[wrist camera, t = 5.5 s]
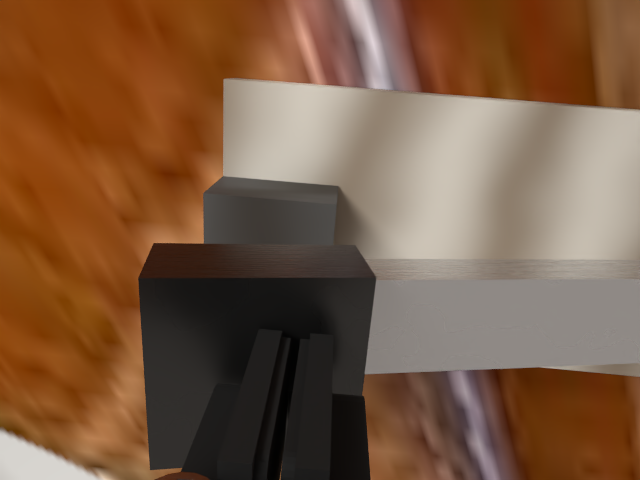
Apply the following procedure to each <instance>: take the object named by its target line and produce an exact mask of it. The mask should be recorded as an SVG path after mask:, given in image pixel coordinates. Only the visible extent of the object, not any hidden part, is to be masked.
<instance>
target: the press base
mask: <svg viewBox="0 0 640 480" xmlns="http://www.w3.org/2000/svg"><path fill="white" fill-rule="evenodd" d="M203 200H204V244H288V245H356V247H357V248H358V250H359V251H360V253H361V254H362V256H363V258H364V259H557V260H640V110H637V109H624V108H611V107H599V106H586V105H573V104H560V103H548V102H535V101H522V100H509V99H497V98H484V97H471V96H458V95H446V94H433V93H420V92H407V91H395V90H382V89H369V88H356V87H344V86H331V85H318V84H305V83H293V82H280V81H267V80H254V79H242V78H229V79H224V135H223V177H222V178H221V179H219V180H218V181H217V182H216V183H215V184H214V185H212V186H211V187H210V188H209V189H208V190H207V191H205V192H204V193H203ZM542 368H553V369H563V370H574V371H584V372H595V373H605V374H616V375H626V376H636V377H640V363H631V364H606V365H581V366H556V367H542Z"/></svg>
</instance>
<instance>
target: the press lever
mask: <svg viewBox="0 0 640 480" xmlns="http://www.w3.org/2000/svg"><path fill="white" fill-rule="evenodd" d="M138 280H139V296H140V313H141V329H142V345H143V362H144V378H145V394H146V410H147V427H148V443H149V459H150V470H157V469H171V468H183V465H184V463H185V460H186V458H187V455H188V453H189V450H190V448H191V445H192V443H193V440H194V438H195V435H196V433H197V430H198V428H199V425H200V422H201V420H202V417H203V415H204V412H205V410H206V407H207V405H208V402H209V400H210V397H211V395H212V392H213V390H214V388H215V386H216V384H218V383H219V384H231V385H241V384H242V381H243V377H244V374H245V371H246V368H247V365H248V362H249V358H250V355H251V352H252V349H253V346H254V343H255V339H256V336H257V333H258V330H259V329H266V330H278V331H283V337H286V338H291V354H290V371H289V387H288V403H287V420H286V433H287V426H288V419H289V413H290V406H291V399H292V393H293V386H294V379H295V373H296V366H297V359H298V353H299V346H300V339H310V333H313V334H325V335H334V342H333V379H332V393H335V394H346V395H358V396H362V391H363V383H364V375H365V374H383V373H408V372H433V371H457V370H482V369H507V368H532V367H556V366H581V365H606V364H631V363H640V260H557V259H364V258H363V256H362V254H361V253H360V251H359V250H358V248H357V247H356V245H288V244H179V243H154V244H153V246H152V248H151V250H150V253H149V255H148V257H147V260H146V262H145V264H144V267H143V269H142V271H141V273H140V276H139V278H138ZM285 440H286V435H285ZM284 446H285V445H284ZM283 453H284V452H283ZM282 461H283V459H282Z"/></svg>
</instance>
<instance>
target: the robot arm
mask: <svg viewBox="0 0 640 480" xmlns="http://www.w3.org/2000/svg"><path fill="white" fill-rule="evenodd" d="M333 342H334V335H325V334H313V333H310V339H300V346H299V353H298V359H297V366H296V373H295V379H294V386H293V393H292V399H291V406H290V413H289V419H288V426H287V433H286V420H287V403H288V387H289V371H290V354H291V338H286V337H283V331H278V330H266V329H259V330H258V333H257V336H256V339H255V343H254V346H253V349H252V352H251V355H250V358H249V362H248V365H247V368H246V371H245V374H244V377H243V381H242V384H241V385H231V384H219V383H218V384H216V386H215V388H214V390H213V392H212V395H211V397H210V400H209V402H208V405H207V407H206V410H205V412H204V415H203V417H202V420H201V422H200V425H199V428H198V430H197V433H196V435H195V438H194V440H193V443H192V445H191V448H190V450H189V453H188V455H187V458H186V460H185V463H184V465H183V468H182V470H181V472H178V473H172V474H168V475H165V476H163V477H160V478H158V479H155V480H279V479H280V472H281V480H370V466H369V452H368V439H367V425H366V411H365V400H364V396H358V395H346V394H335V393H332V379H333ZM285 435H286V440H285ZM284 445H285V446H284ZM283 452H284V453H283ZM282 459H283V461H282ZM281 466H282V470H281Z"/></svg>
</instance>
